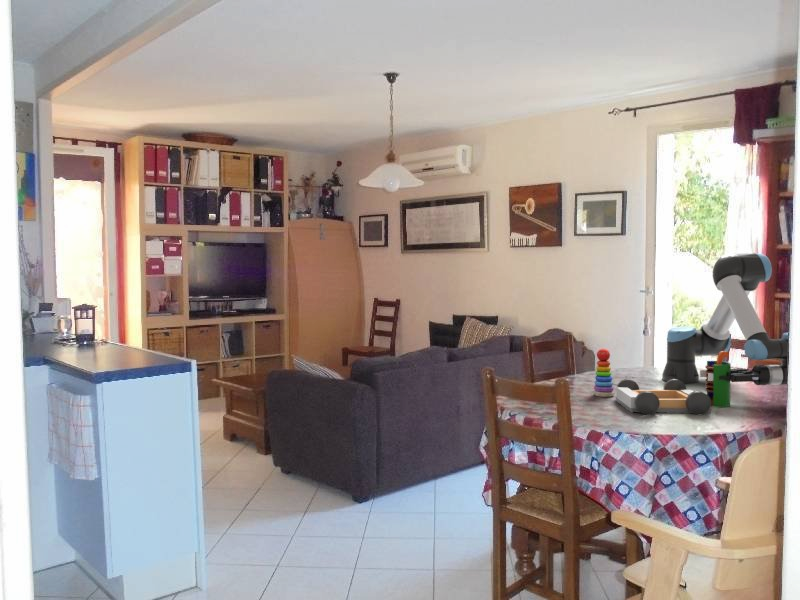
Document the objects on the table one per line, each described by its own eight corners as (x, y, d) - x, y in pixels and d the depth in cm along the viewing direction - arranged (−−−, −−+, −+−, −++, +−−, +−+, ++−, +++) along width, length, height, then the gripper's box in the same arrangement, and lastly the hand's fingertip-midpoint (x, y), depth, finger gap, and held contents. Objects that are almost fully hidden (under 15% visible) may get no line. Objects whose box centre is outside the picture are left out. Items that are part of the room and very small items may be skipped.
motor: (698, 401, 273) (699, 349, 271) (721, 401, 274) (722, 349, 272) (712, 407, 263) (713, 353, 261) (735, 406, 264) (737, 353, 262)
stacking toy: (614, 394, 288) (615, 347, 286) (613, 398, 280) (614, 350, 279) (594, 392, 290) (594, 347, 289) (592, 396, 283) (593, 349, 281)
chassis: (613, 399, 278) (614, 378, 277) (686, 399, 277) (687, 378, 276) (633, 414, 252) (634, 392, 252) (713, 414, 252) (714, 392, 251)
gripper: (779, 390, 257) (715, 390, 258) (753, 380, 277) (693, 380, 278) (780, 369, 257) (715, 369, 257) (754, 360, 277) (694, 361, 277)
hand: (704, 375), depth 267 cm, fingers closed on motor, 7 cm apart
